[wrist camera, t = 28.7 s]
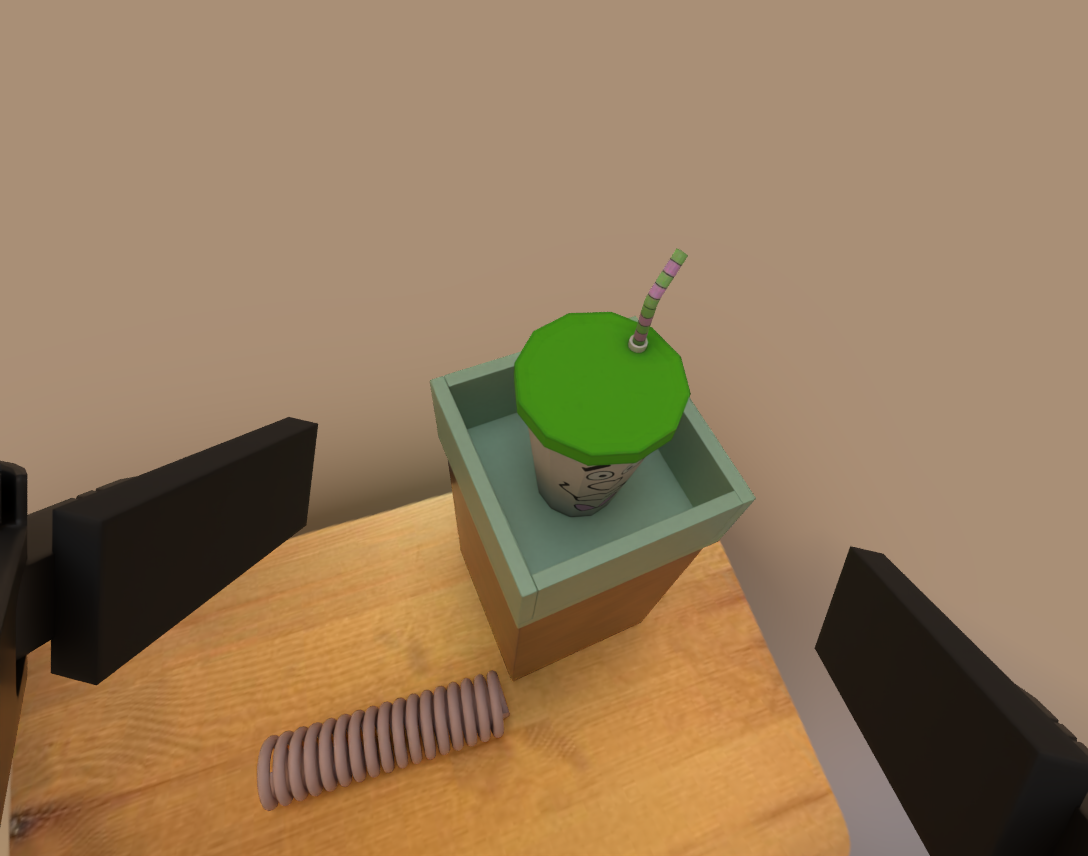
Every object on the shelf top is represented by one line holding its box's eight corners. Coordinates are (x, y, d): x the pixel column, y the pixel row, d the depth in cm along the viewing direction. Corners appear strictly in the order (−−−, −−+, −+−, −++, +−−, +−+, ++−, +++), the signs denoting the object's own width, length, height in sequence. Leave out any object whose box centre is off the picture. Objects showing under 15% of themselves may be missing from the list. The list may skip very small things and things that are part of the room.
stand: (512, 681, 50) (520, 621, 32) (460, 549, 55) (444, 438, 38) (641, 622, 53) (711, 538, 36) (580, 502, 58) (616, 380, 41)
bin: (517, 629, 32) (521, 597, 27) (438, 436, 38) (429, 379, 33) (718, 541, 36) (756, 498, 30) (618, 375, 41) (635, 315, 36)
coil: (250, 818, 40) (517, 733, 44) (244, 741, 42) (501, 665, 46) (272, 808, 44) (513, 731, 48) (265, 739, 46) (499, 669, 50)
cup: (531, 562, 33) (554, 414, 20) (492, 440, 37) (491, 250, 24) (663, 524, 35) (762, 364, 22) (613, 411, 38) (673, 218, 26)
